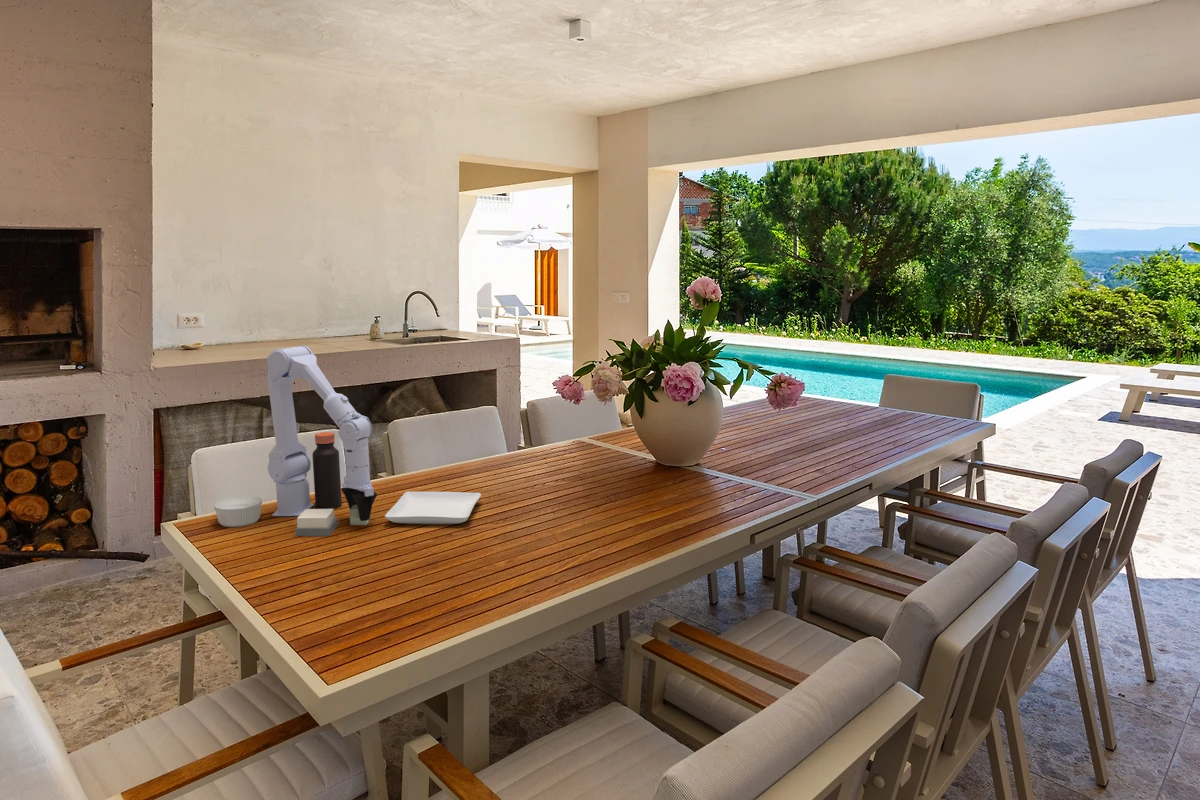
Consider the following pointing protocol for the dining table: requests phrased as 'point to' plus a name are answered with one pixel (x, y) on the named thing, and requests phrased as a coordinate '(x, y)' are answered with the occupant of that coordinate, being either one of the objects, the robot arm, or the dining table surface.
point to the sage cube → (356, 517)
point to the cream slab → (315, 518)
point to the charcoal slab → (317, 530)
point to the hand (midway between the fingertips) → (360, 516)
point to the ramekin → (238, 510)
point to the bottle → (326, 472)
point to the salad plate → (433, 507)
